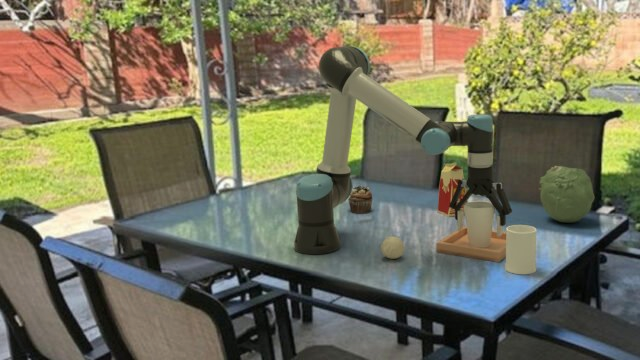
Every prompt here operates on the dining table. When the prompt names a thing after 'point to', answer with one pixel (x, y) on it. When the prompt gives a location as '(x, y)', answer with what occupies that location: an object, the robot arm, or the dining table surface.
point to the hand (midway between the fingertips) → (479, 232)
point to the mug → (520, 249)
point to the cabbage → (566, 193)
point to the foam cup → (479, 222)
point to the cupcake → (360, 200)
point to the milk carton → (449, 188)
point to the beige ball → (392, 247)
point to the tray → (460, 246)
